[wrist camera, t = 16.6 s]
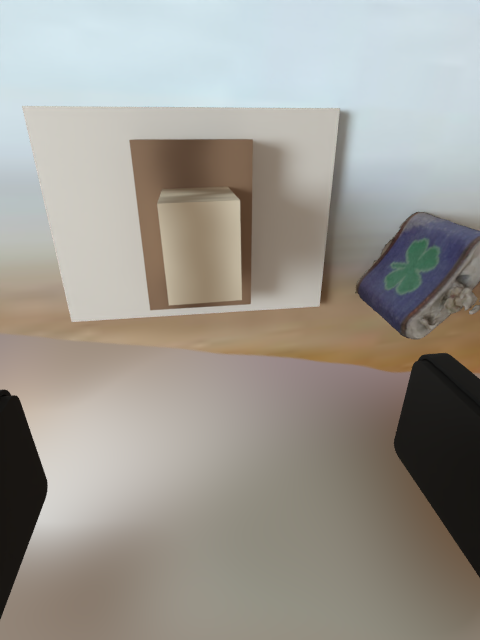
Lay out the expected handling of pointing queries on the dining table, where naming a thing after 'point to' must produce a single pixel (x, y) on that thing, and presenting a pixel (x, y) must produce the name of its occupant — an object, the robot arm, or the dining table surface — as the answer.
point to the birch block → (201, 244)
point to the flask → (423, 275)
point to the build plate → (122, 212)
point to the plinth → (189, 172)
